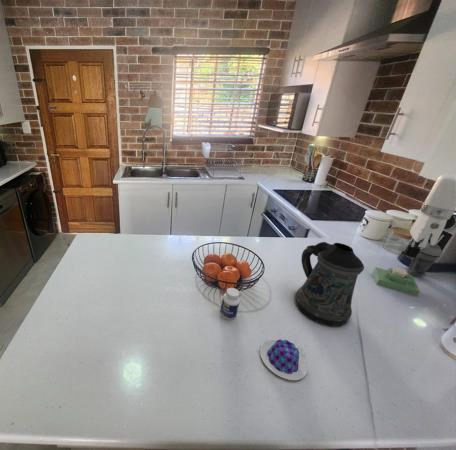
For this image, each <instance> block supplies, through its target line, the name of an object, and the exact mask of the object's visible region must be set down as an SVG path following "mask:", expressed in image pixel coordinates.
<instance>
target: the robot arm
mask: <svg viewBox="0 0 456 450" xmlns="http://www.w3.org/2000/svg"><path fill="white" fill-rule="evenodd" d="M455 211H456V173H455V174H452V173H443V174H440V175H439V176H438V177H437V179H436V181H435V182H434V184H433V186H432V188H431V189H430V191H429V193H428V195H427V197H426V198H425V200H424V202H423V204H422V205H421V207H420V209H419V211H418V212H419V213H420V214H419V215H418V216H417V218H416V219H415V221H414V223H413V224H412V226H411V228H410V230H409V234H410V236H411V238H410V240H409V242H408V244H407V246H406V248H405V250H404V252H403V255H404V256H406V257H410V258H413V257H414V258H416V256H417V255H418V253H419V252H420V250H421V249H422V248H425V246H426V244H427V242H428V243H429V244H430V245H432V246H433V245H435V243H436V242H437V241H438V240H439V239H440V237H441V236H442V235H441V234H442V233H443V231H444V229H445V227H446V225H447V221H448V220H450V218H451V217H452V216H453V214H454V212H455Z"/></svg>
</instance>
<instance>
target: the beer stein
mask: <svg viewBox="0 0 456 450" xmlns="http://www.w3.org/2000/svg"><path fill="white" fill-rule="evenodd" d="M312 255H313V256H315V257H317V262H316V264H315V265H314V267H313V266H312V262H311V257H312ZM300 260H301V265H302V270H303V272H304V274H305V277H306V280H305V282H304V283H303V284H302V285H301V286H300V287H299V288H298V289H297V290H296V292H295V299H294V300H295V306H296V308H297V309H298V311H299V312H300V313H302V315H304V316H305V317H306V318H308V319H309V320H310V321H312V322H314V323H317V324H319V325H323V326H327V327H341V326H343V325H344V324H346V323H348V320H349V319H350V318H351V316H352V314H353V310H352V300H353V295H354V290H355V286H356V284H357V279H358V276H359V275H360V274H361V273H362V272H363V271H364V270H365V265H364V263H363V261H362V260H361V259H360V258H359V257H358V256H357V255H356V254H355V252H354V249H353V248H352V247H351V246H350V245H347V244H345V243H341V242H333V244H330V243H329V242H326V241H320V242H318V243H316V244H311V245H307V246H306V247H305V249H304V250H303V251H302V254H301V259H300Z"/></svg>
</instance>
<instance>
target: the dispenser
mask: <svg viewBox="0 0 456 450" xmlns="http://www.w3.org/2000/svg"><path fill="white" fill-rule="evenodd" d="M393 269H394V268H388V269H385V268H381V267H378V266H374V268H373V270H372V272H371V278H372V279H373V280H374V282H375V285H377V286H381V287H383V288H387V289H390V290H392V291H393V290H394V291H397V292H400V293H404V294H407V295H410V296H414V297H418V295H419V294H420V293H421V290H420V289H419V286H418V284H417V282H416V281H415V277H413V276H411V275H409V274H407V275H406V277H405V278H401V277H398V276H395V275H394V274H392V271H393Z"/></svg>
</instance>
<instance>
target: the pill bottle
mask: <svg viewBox="0 0 456 450" xmlns="http://www.w3.org/2000/svg"><path fill="white" fill-rule="evenodd" d="M240 302H241V298H240V291H239V290H238V289H237V288H234V287H229V288H227V289H226V292H225V293H224V294H223V296H222V300H221V303H220V304H221V305H220V309H219V314H220V316H221V317H222V318H223V319H226V320H229V321H231V320H234V319H236V318H237V315H238V310H239V308H240Z"/></svg>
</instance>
